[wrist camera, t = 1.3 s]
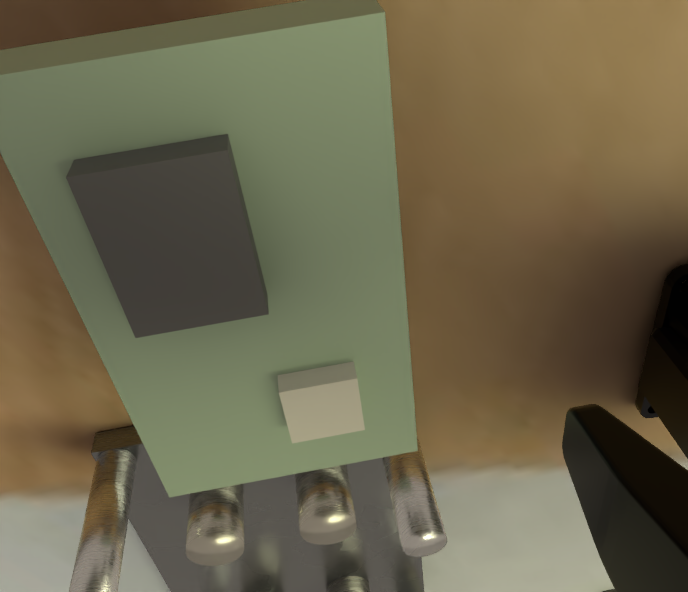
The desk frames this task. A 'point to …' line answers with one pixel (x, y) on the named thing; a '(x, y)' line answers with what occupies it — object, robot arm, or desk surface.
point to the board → (228, 231)
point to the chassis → (262, 526)
